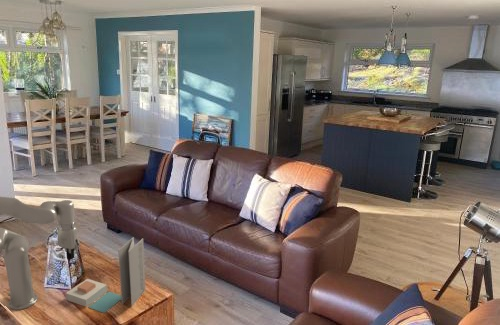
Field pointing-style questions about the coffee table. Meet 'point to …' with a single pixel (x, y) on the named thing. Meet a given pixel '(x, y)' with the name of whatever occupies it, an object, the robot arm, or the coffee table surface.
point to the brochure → (132, 270)
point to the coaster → (86, 287)
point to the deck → (85, 298)
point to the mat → (105, 302)
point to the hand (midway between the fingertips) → (70, 258)
